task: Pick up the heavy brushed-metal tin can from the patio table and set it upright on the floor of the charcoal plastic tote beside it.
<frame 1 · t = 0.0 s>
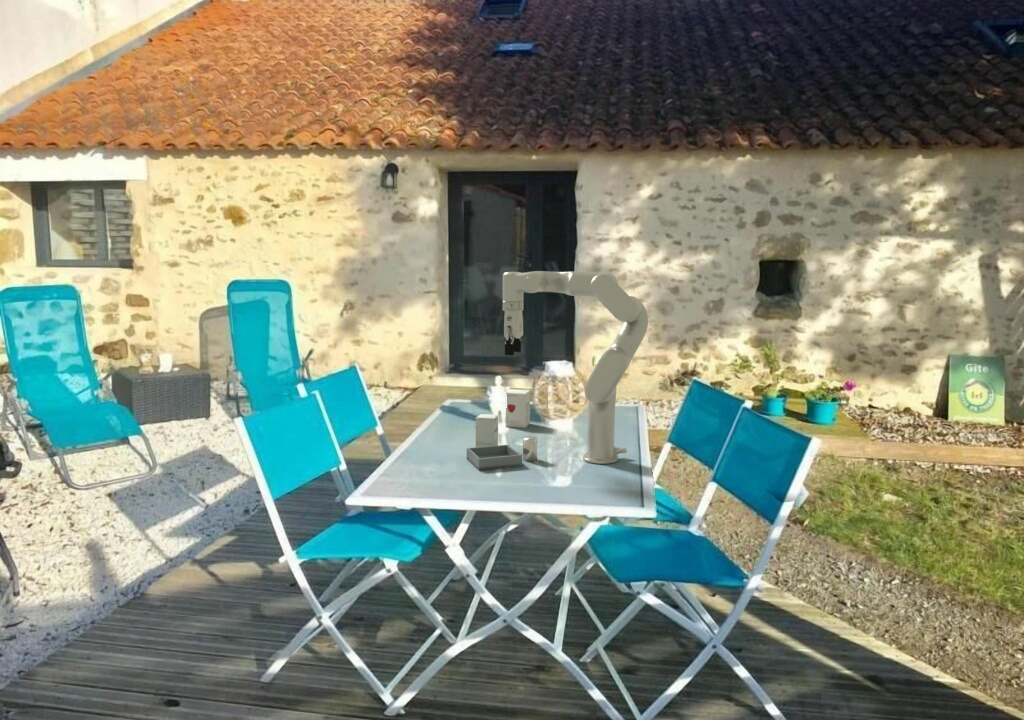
hand: (512, 353, 278), 37 cm above the table, tool pointing down, fingers open, 9 cm apart
tin can: (530, 459, 275), on the table
supplement box 2: (517, 425, 329), on the table
supplement box: (487, 449, 290), on the table
tote: (493, 462, 271), on the table
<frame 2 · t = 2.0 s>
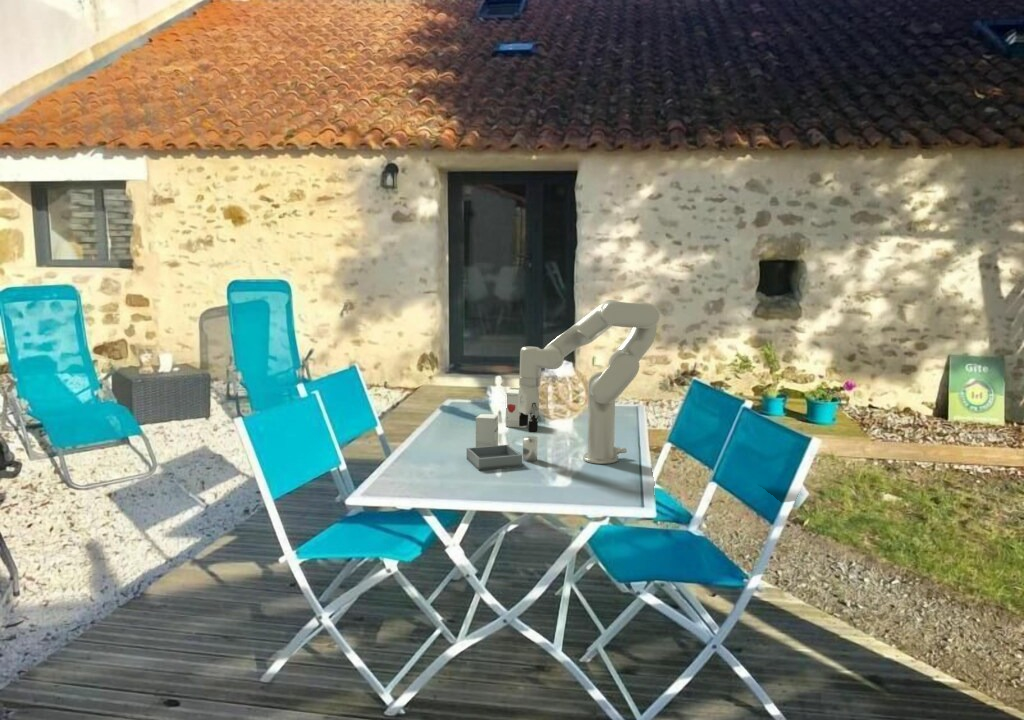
hand: (528, 428, 273), 11 cm above the table, tool pointing down, fingers open, 9 cm apart
nothing on the table moved.
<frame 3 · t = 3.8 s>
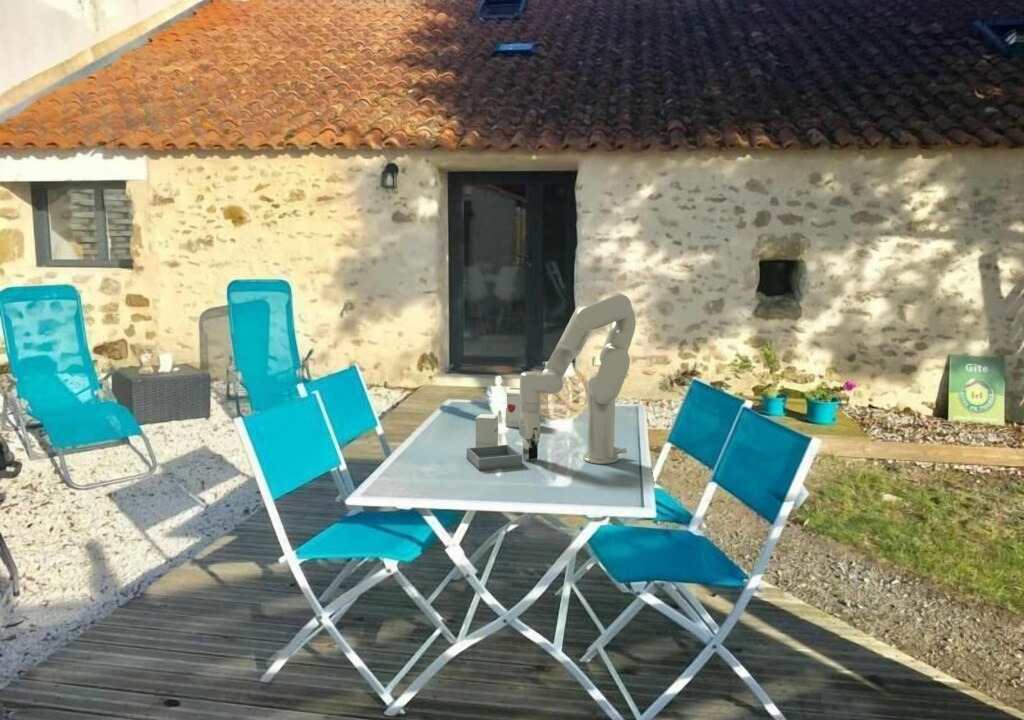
hand: (530, 455, 275), 1 cm above the table, tool pointing down, fingers closed on tin can, 5 cm apart
tin can: (530, 459, 275), on the table, touching gripper
everything else where it was.
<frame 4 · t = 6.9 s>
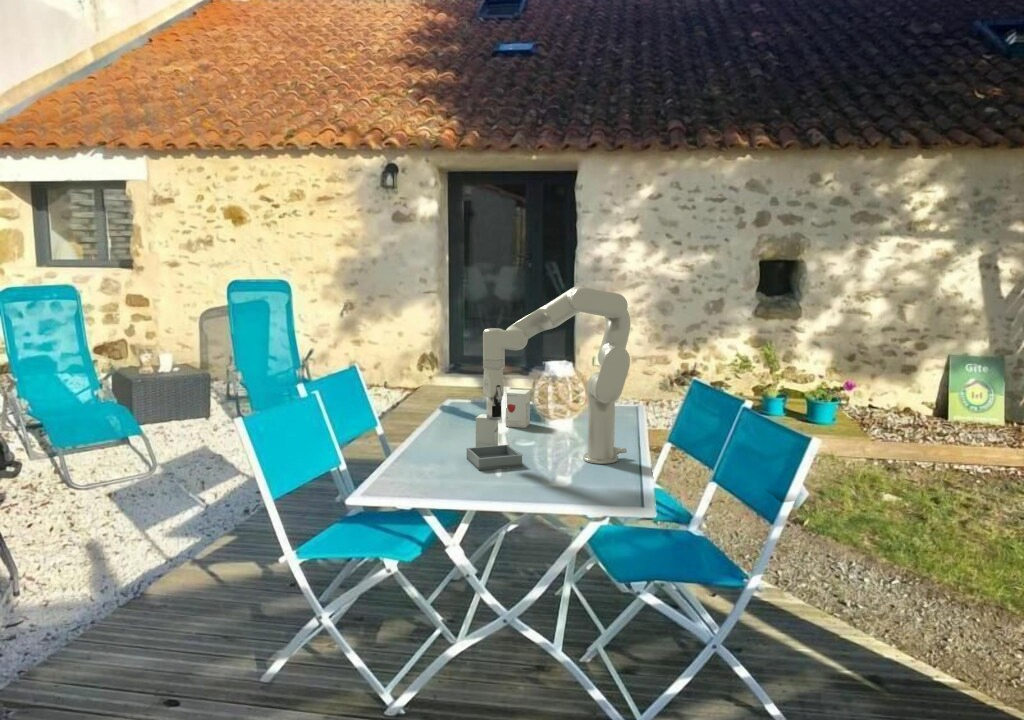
hand: (494, 414, 269), 17 cm above the table, tool pointing down, fingers closed on tin can, 5 cm apart
tin can: (493, 418, 269), point 16 cm above the table, touching gripper
everything else where it was.
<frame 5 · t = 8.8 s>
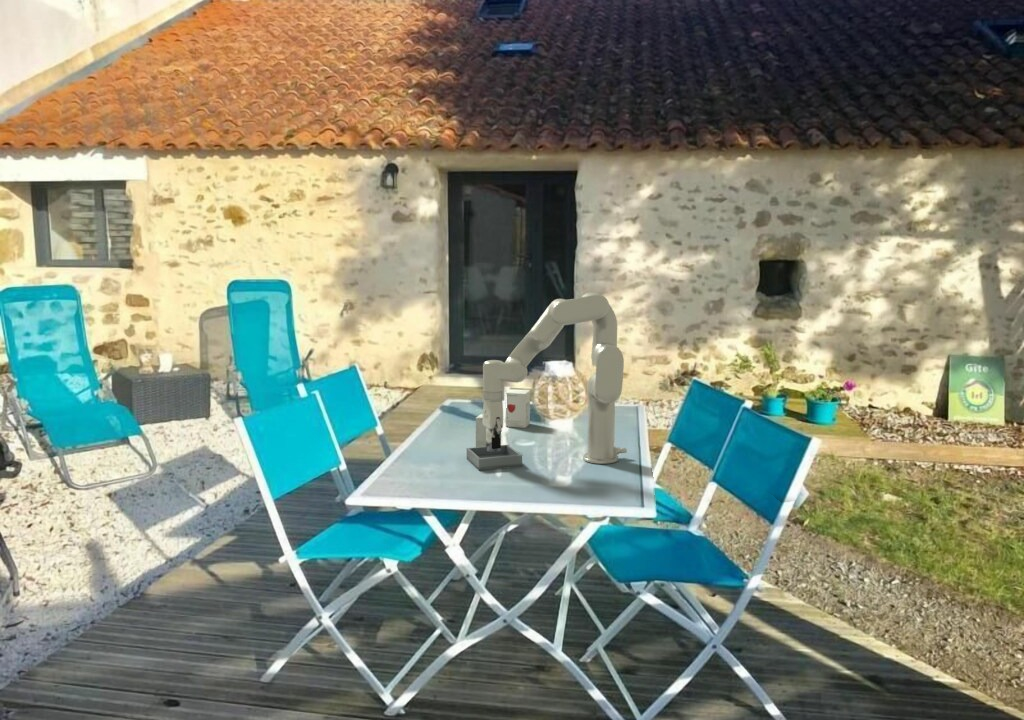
hand: (493, 445, 270), 6 cm above the table, tool pointing down, fingers closed on tin can, 5 cm apart
tin can: (493, 449, 270), point 5 cm above the table, touching gripper
everything else where it was.
when the fingers open (4 cm above the table, at t = 10.1 s): tin can drops 1 cm, resting on tote.
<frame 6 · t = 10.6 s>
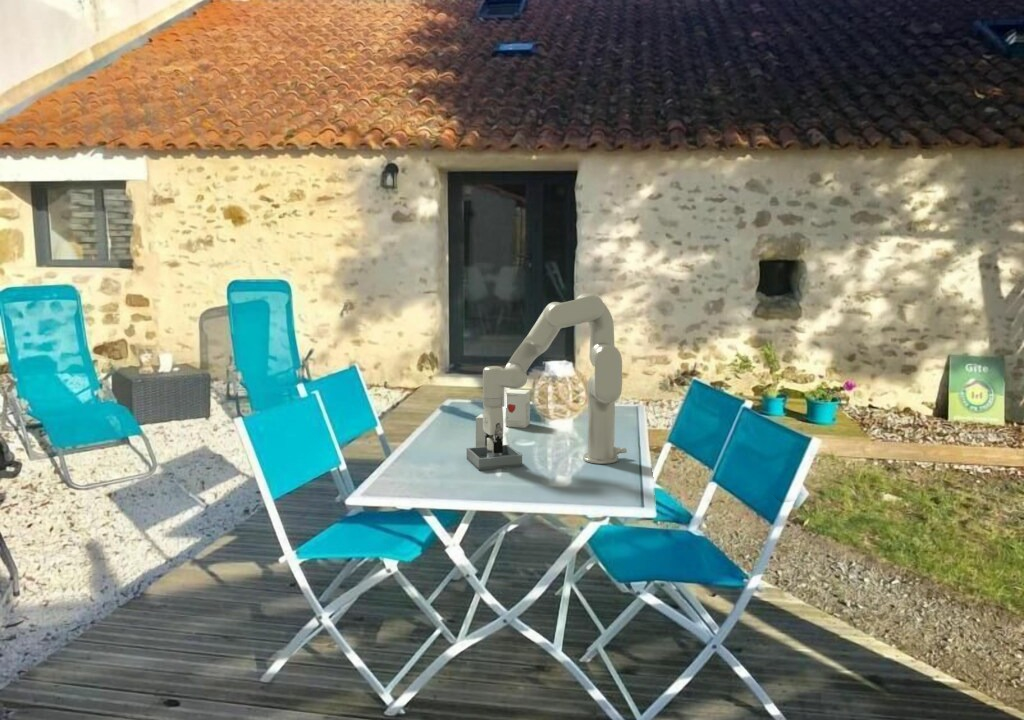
hand: (493, 449, 270), 5 cm above the table, tool pointing down, fingers open, 9 cm apart
tin can: (494, 459, 271), point 1 cm above the table, touching tote
everything else where it was.
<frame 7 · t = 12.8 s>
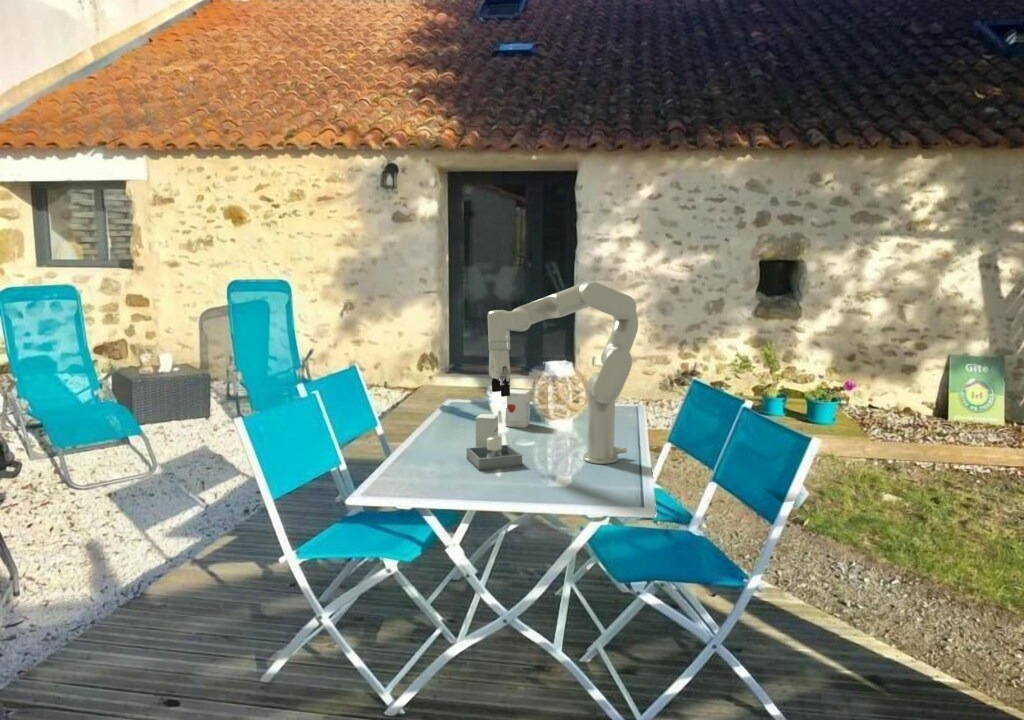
hand: (500, 393, 270), 24 cm above the table, tool pointing down, fingers open, 9 cm apart
nothing on the table moved.
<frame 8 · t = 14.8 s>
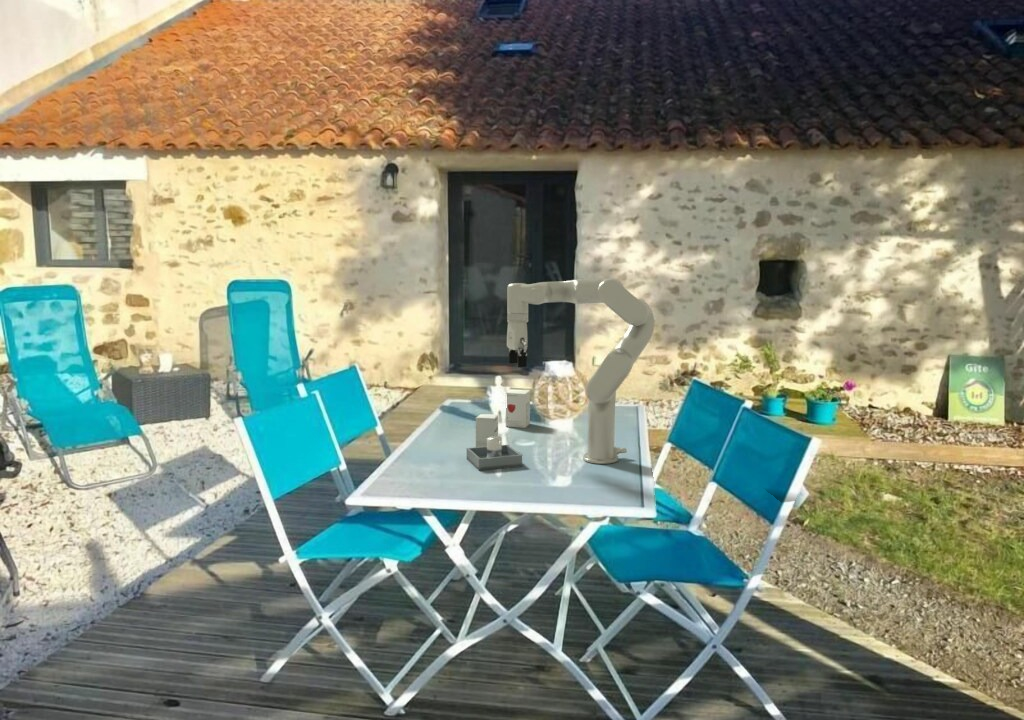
hand: (517, 365, 277), 33 cm above the table, tool pointing down, fingers open, 9 cm apart
nothing on the table moved.
at the end: tin can inside the target area on the tote (0.1 cm from its centre), point 1.0 cm above the tote's base; tin can tilted 0°; the gripper is holding nothing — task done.
